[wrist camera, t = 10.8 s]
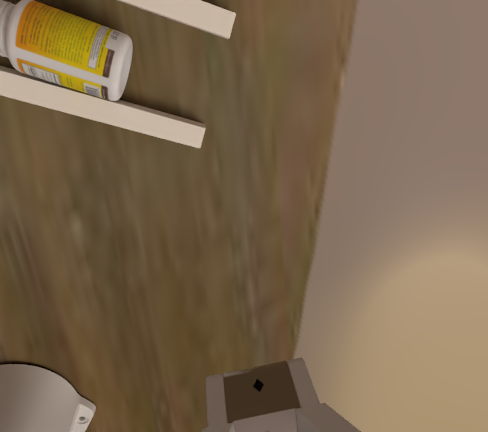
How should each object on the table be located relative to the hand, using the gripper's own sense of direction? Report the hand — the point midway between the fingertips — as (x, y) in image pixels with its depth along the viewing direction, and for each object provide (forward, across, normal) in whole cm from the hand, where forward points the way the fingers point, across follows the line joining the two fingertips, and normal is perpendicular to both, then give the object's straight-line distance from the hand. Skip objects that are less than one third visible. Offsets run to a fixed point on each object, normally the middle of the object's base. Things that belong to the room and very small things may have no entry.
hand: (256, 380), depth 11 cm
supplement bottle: (+26, +6, -8) cm, 28 cm away
